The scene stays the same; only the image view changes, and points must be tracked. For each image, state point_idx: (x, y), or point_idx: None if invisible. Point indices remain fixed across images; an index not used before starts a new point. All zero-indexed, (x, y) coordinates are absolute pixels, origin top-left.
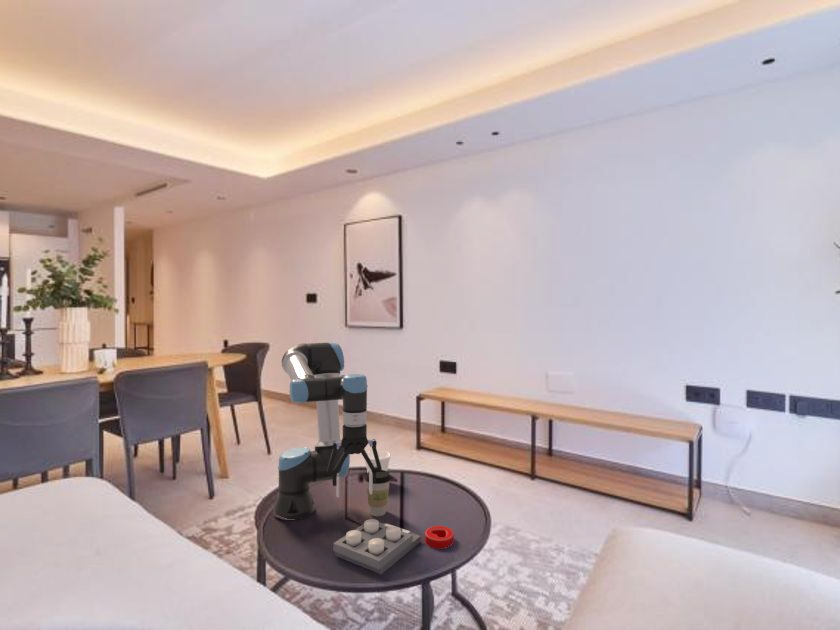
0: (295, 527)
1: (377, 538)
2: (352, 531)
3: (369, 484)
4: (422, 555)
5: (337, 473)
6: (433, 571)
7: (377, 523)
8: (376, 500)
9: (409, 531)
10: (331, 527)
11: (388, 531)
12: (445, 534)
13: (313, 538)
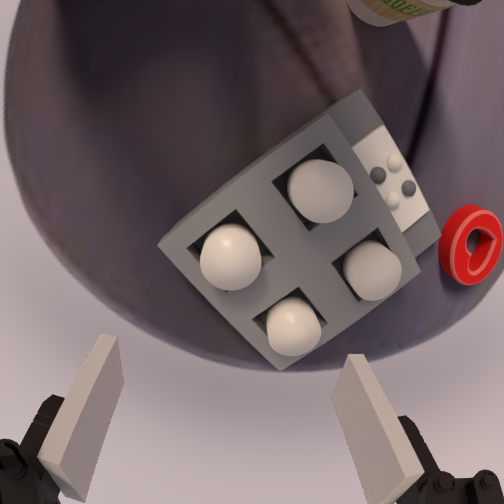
0: (80, 21)
1: (306, 315)
2: (229, 242)
3: (358, 413)
4: (405, 293)
5: (49, 465)
6: (391, 353)
7: (344, 209)
8: (389, 6)
9: (427, 209)
10: (189, 36)
11: (359, 281)
12: (486, 238)
13: (118, 96)
